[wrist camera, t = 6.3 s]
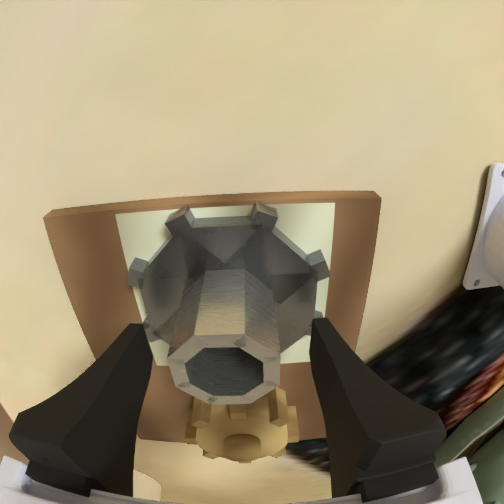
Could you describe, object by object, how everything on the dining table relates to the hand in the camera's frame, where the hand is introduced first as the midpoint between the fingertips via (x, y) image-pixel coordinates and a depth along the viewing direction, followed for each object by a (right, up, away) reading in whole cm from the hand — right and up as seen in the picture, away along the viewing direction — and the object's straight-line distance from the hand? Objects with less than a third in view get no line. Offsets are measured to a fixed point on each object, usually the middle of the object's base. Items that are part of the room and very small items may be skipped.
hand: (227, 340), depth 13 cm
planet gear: (0, +2, +2) cm, 3 cm away
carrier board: (-1, -3, +6) cm, 6 cm away
